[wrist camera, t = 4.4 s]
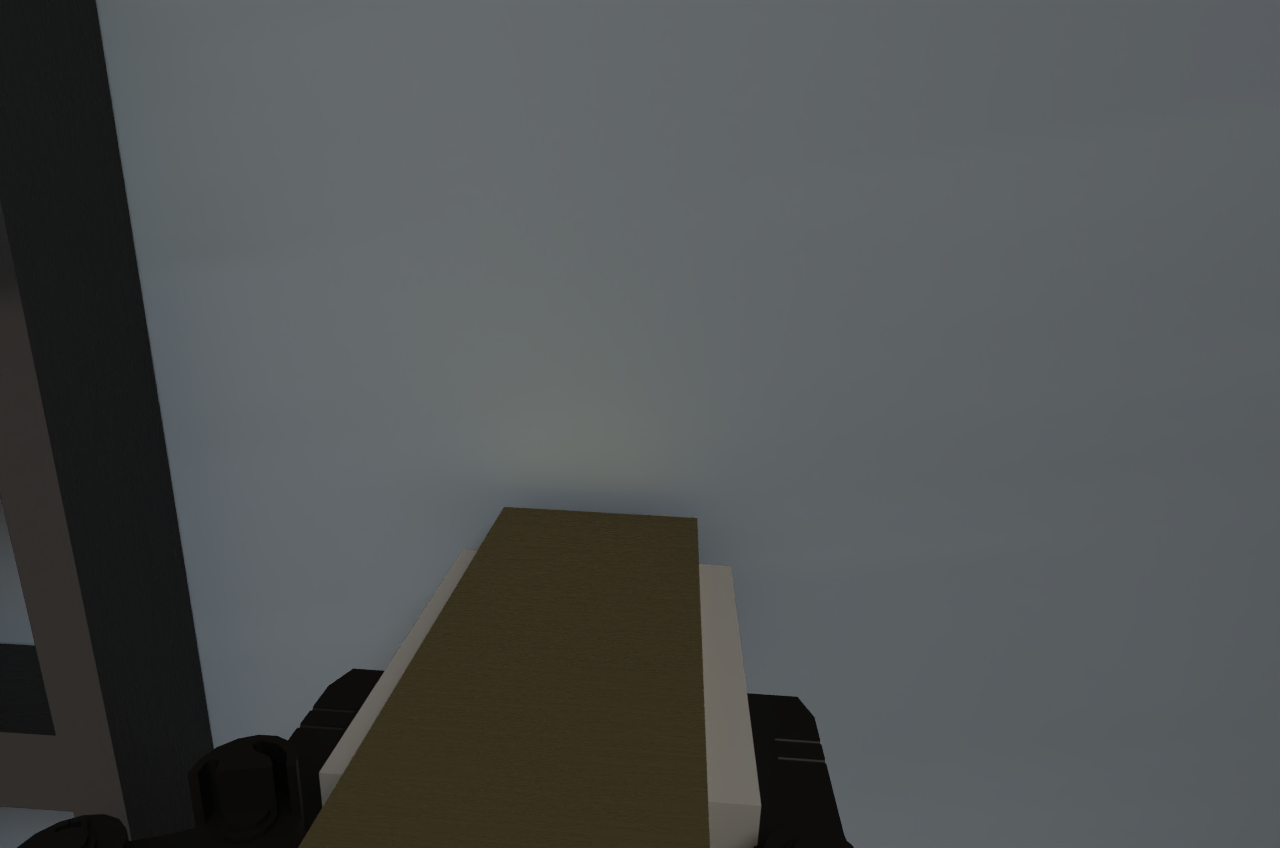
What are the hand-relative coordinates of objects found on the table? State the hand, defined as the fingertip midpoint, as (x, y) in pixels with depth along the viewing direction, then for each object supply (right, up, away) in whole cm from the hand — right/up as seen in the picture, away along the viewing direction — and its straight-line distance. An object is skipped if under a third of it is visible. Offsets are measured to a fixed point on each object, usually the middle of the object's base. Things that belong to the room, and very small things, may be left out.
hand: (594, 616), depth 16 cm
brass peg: (0, 0, +1) cm, 1 cm away
